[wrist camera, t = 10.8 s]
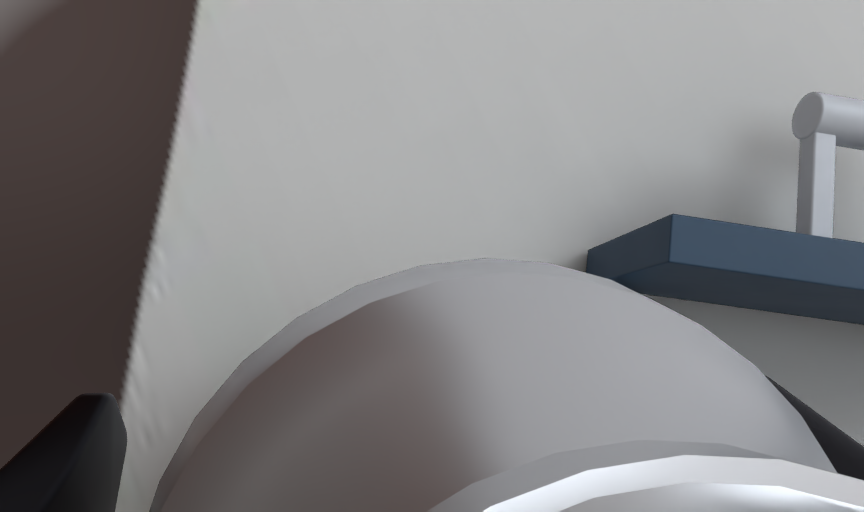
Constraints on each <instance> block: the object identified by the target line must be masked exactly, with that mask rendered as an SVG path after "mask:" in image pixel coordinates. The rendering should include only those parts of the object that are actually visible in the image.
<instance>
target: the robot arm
mask: <svg viewBox="0 0 864 512" xmlns="http://www.w3.org/2000/svg"><path fill="white" fill-rule="evenodd" d="M764 376H765V375H764ZM765 377H766V378H767V379H768V380H769V381H770V382H771V383H772V384H773V385H774V386H775V387H776V389H777V390H778V391H779V392H780V393H781V394H782V395H783V396H784V397H785V398H786V399H787V401H788V402H789V403H790V404H791V405H792V406H793V407H794V408H795V409H796V410H797V411H798V412H799V414H800V415H801V416H802V417H803V419H804V421H805V422H806V424H807V425H808V427H809V429H810V430H811V432H812V433H813V435H814V437H815V438H816V440H817V441H818V443H819V445H820V446H821V448H822V449H823V451H824V452H825V454H826V456H827V457H828V459H829V460H830V462H831V464H832V465H833V467H834V468H835V470H836V472H837V473H838V474H842V475H845V476H849V477H853V478H856V479H860V480H864V447H863V446H862V445H860V444H859V443H857V442H856V441H855V440H853V439H852V438H851V437H849V436H848V435H847V434H845V433H844V432H842V431H841V430H840V429H838V428H837V427H836V426H834V425H833V424H831V423H830V422H829V421H827V420H826V419H825V418H823V417H822V416H821V415H819V414H818V413H816V412H815V411H814V410H812V409H811V408H810V407H808V406H807V405H806V404H804V403H803V402H801V401H800V400H799V399H797V398H796V397H795V396H793V395H792V394H791V393H789V392H788V391H786V390H785V389H784V388H782V387H781V386H780V385H778V384H777V383H776V382H774V381H773V380H771V379H770V378H768V377H767V376H765ZM126 447H127V432H126V428H125V425H124V422H123V419H122V416H121V413H120V410H119V407H118V404H117V401H116V399H115V397H114V396H113V395H112V394H109V393H87V394H82V395H80V396H78V397H76V398H75V399H74V400H73V401H72V402H71V403H70V404H69V405H68V406H66V407H65V408H64V410H62V411H61V412H60V413H59V414H58V415H57V416H56V417H55V418H54V419H53V420H52V421H51V422H50V423H49V424H48V425H46V426H45V427H44V429H42V430H41V431H40V432H39V433H38V434H37V435H36V436H35V437H34V438H33V439H32V440H31V441H30V442H29V443H28V444H27V445H26V446H25V447H23V448H22V449H21V450H20V451H19V452H18V453H17V454H16V455H15V456H14V457H13V458H12V459H11V460H10V461H9V462H8V463H7V464H5V466H3V467H2V468H1V469H0V512H115V508H116V502H117V497H118V491H119V486H120V480H121V475H122V469H123V464H124V459H125V453H126Z"/></svg>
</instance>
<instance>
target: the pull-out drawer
mask: <svg viewBox="0 0 864 512" xmlns="http://www.w3.org/2000/svg"><path fill="white" fill-rule="evenodd" d="M792 131H793V134H794V135H795V137H797V138H798V139H800V154H799V176H798V198H797V220H796V232H789V231H782V230H776V229H769V228H763V227H756V226H750V225H743V224H736V223H730V222H723V221H717V220H710V219H704V218H697V217H690V216H684V215H677V214H671V215H669V216H666V217H664V218H662V219H659V220H657V221H655V222H652V223H650V224H648V225H645V226H643V227H641V228H638V229H636V230H634V231H632V232H629V233H627V234H625V235H622V236H620V237H618V238H615V239H613V240H611V241H608V242H606V243H604V244H601V245H599V246H597V247H594V248H592V249H590V250H588V258H587V269H586V273H588V274H592V275H596V276H599V277H603V278H607V279H610V280H613V281H615V282H617V283H619V284H621V285H623V286H625V287H627V288H629V289H631V290H633V291H635V292H637V293H642V294H649V295H656V296H663V297H670V298H677V299H684V300H692V301H699V302H706V303H713V304H720V305H727V306H734V307H741V308H749V309H756V310H763V311H770V312H777V313H784V314H791V315H798V316H806V317H813V318H820V319H827V320H834V321H841V322H848V323H855V324H862V325H864V243H861V242H855V241H848V240H842V239H835V238H832V237H833V210H834V183H835V155H836V146H841V147H847V148H853V149H859V150H864V100H861V99H855V98H849V97H843V96H837V95H832V94H826V93H820V92H811V93H809V94H807V95H805V96H804V97H803V98H802V99H801V100H800V102H799V103H798V105H797V107H796V109H795V111H794V114H793V119H792Z"/></svg>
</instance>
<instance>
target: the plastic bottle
mask: <svg viewBox="0 0 864 512" xmlns="http://www.w3.org/2000/svg"><path fill="white" fill-rule="evenodd" d="M149 512H864V480H860V479H856V478H853V477H849V476H845V475H842V474H838V473H837V472H836V470H835V468H834V467H833V465H832V464H831V462H830V460H829V459H828V457H827V456H826V454H825V452H824V451H823V449H822V448H821V446H820V445H819V443H818V441H817V440H816V438H815V437H814V435H813V433H812V432H811V430H810V429H809V427H808V425H807V424H806V422H805V421H804V419H803V417H802V416H801V415H800V414H799V412H798V411H797V410H796V409H795V408H794V407H793V406H792V405H791V404H790V403H789V402H788V401H787V399H786V398H785V397H784V396H783V395H782V394H781V393H780V392H779V391H778V390H777V389H776V387H775V386H774V385H773V384H772V383H771V382H770V381H769V380H768V379H767V378H766V377H765V376H764V374H763V373H762V372H761V371H760V370H759V369H758V368H757V367H756V366H755V365H754V364H753V363H751V362H750V361H749V360H747V359H746V358H745V357H743V356H742V355H741V354H739V353H738V352H737V351H735V350H734V349H733V348H731V347H730V346H729V345H727V344H726V343H725V342H723V341H722V340H721V339H719V338H718V337H717V336H715V335H714V334H713V333H711V332H710V331H709V330H707V329H706V328H705V327H703V326H702V325H700V324H698V323H696V322H695V321H693V320H691V319H689V318H687V317H685V316H683V315H681V314H679V313H677V312H675V311H674V310H672V309H670V308H668V307H666V306H664V305H662V304H660V303H658V302H656V301H654V300H651V299H649V298H647V297H645V296H643V295H641V294H639V293H637V292H635V291H633V290H631V289H629V288H627V287H625V286H623V285H621V284H619V283H617V282H615V281H613V280H610V279H607V278H603V277H599V276H596V275H592V274H588V273H585V272H581V271H577V270H574V269H570V268H566V267H563V266H559V265H555V264H552V263H544V262H531V261H517V260H504V259H491V258H482V259H473V260H464V261H456V262H447V263H438V264H430V265H421V266H417V267H414V268H411V269H408V270H405V271H401V272H398V273H395V274H392V275H389V276H386V277H382V278H379V279H376V280H373V281H370V282H366V283H363V284H360V285H357V286H355V287H353V288H351V289H349V290H347V291H346V292H344V293H342V294H340V295H338V296H336V297H334V298H333V299H331V300H329V301H327V302H325V303H323V304H321V305H320V306H318V307H316V308H314V309H312V310H310V311H308V312H307V313H305V314H303V315H301V316H299V317H297V318H296V319H294V320H293V321H292V322H291V323H290V324H288V325H287V326H286V327H285V328H283V329H282V330H281V331H280V332H278V333H277V334H276V335H275V336H273V337H272V338H271V339H270V340H269V341H267V342H266V343H265V344H264V345H262V346H261V347H260V348H259V349H257V350H256V351H255V352H254V353H253V354H251V355H250V356H249V357H248V358H246V359H245V360H244V361H243V362H242V363H241V364H240V365H239V366H238V367H237V369H236V370H235V371H234V372H233V373H232V374H231V376H230V377H229V378H228V379H227V380H226V382H225V383H224V384H223V385H222V386H221V387H220V389H219V390H218V391H217V392H216V393H215V395H214V396H213V397H212V398H211V399H210V400H209V402H208V403H207V404H206V405H205V406H204V408H203V409H202V410H201V411H200V412H199V414H198V415H197V416H196V417H195V419H194V421H193V422H192V424H191V426H190V428H189V430H188V431H187V433H186V435H185V437H184V438H183V440H182V442H181V444H180V446H179V447H178V449H177V451H176V453H175V454H174V456H173V458H172V460H171V462H170V463H169V465H168V467H167V469H166V470H165V472H164V474H163V476H162V478H161V479H160V481H159V484H158V487H157V490H156V493H155V496H154V499H153V502H152V505H151V508H150V511H149Z"/></svg>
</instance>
